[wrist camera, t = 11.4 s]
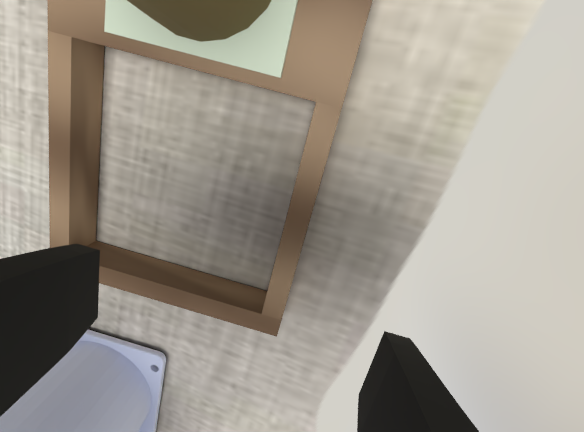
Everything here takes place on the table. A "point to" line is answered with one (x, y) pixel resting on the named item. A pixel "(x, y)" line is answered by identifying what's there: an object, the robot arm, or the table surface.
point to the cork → (203, 16)
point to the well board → (214, 60)
